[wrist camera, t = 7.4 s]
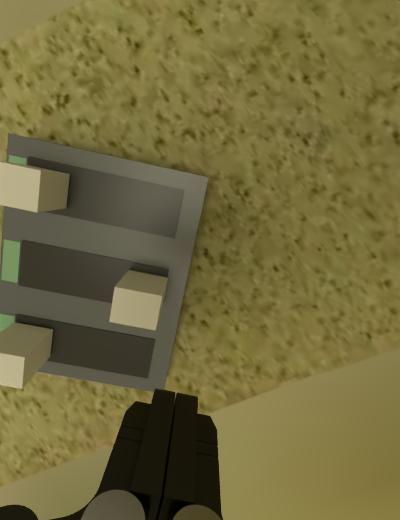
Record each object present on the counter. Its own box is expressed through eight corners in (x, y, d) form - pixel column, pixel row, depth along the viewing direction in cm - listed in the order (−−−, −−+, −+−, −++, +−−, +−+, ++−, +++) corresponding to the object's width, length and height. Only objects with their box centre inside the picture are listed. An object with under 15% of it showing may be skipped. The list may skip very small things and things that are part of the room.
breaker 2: (53, 329, 23) (24, 357, 20) (50, 356, 24) (21, 388, 20) (14, 322, 23) (-23, 349, 19) (12, 349, 24) (-24, 381, 20)
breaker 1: (69, 174, 21) (40, 170, 17) (66, 208, 21) (37, 212, 17) (26, 164, 21) (-14, 159, 17) (23, 199, 21) (-16, 201, 17)
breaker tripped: (168, 277, 23) (162, 296, 19) (162, 306, 23) (155, 330, 19) (128, 269, 22) (114, 286, 19) (123, 299, 23) (109, 321, 19)
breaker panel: (207, 178, 24) (208, 177, 21) (166, 372, 28) (162, 394, 25) (31, 140, 23) (7, 133, 20) (15, 345, 27) (-7, 364, 24)
